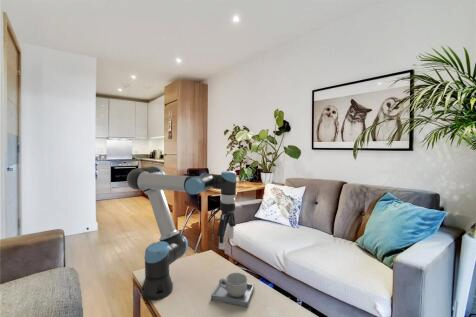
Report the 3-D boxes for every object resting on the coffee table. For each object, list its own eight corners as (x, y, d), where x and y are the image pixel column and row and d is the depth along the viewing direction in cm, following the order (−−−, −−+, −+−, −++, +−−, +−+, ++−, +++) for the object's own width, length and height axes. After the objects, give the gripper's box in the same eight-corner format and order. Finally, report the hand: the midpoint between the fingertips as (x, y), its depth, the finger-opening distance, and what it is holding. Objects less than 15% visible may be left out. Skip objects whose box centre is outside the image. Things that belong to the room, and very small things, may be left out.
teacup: (248, 288, 124) (248, 273, 123) (245, 302, 113) (245, 285, 113) (222, 285, 127) (222, 270, 126) (216, 298, 116) (216, 282, 116)
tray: (211, 300, 115) (211, 295, 115) (221, 283, 130) (221, 278, 130) (247, 307, 110) (247, 302, 110) (254, 289, 125) (254, 284, 125)
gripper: (226, 209, 107) (224, 255, 109) (241, 197, 131) (240, 235, 133) (211, 207, 110) (209, 252, 111) (228, 196, 133) (227, 233, 135)
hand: (226, 243), depth 122 cm, fingers open, 13 cm apart
